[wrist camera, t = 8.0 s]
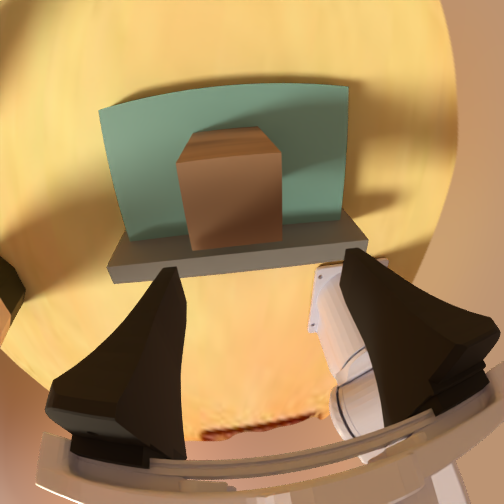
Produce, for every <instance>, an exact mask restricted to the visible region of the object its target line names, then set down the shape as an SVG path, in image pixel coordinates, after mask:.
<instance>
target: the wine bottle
mask: <svg viewBox="0 0 504 504" xmlns="http://www.w3.org/2000/svg"><path fill="white" fill-rule="evenodd" d="M25 291H26V289H25V287H24V286H23V284H22V282H21V280H20V278H19V276H18V274H17V272H16V270H15V268H14V267H13V266H11V265H10V264H9V263H8V262H6V261H5V260H4V259H3V258H2V257H0V347H1V345H2V343H3V341H4V338H5V336H6V334H7V332H8V330H9V328H10V326H11V324H12V322H13V320H14V319H15V317H16V315H17V313H18V311H19V309H20V308H21V306H22V304H23V300H24V295H25Z"/></svg>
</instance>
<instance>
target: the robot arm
mask: <svg viewBox="0 0 504 504" xmlns="http://www.w3.org/2000/svg"><path fill="white" fill-rule="evenodd" d="M388 264H389V261H388V259H387V258H380V259H375V258H373V257H372V256H370V255H369V254H367V253H366V252H365V251H363V250H361V249H360V248H349V249H346V250H345V256H344V261H343V264H335V265H328V266H320V267H318V268H317V269H316V270H315V277H314V285H313V293H312V301H311V308H310V315H309V322H308V332H309V333H314V332H317V334H318V337H319V340H320V343H321V346H322V349H323V352H324V355H325V358H326V361H327V364H328V367H329V370H330V372H331V374H332V375H333V377H334V378H335V379H336V381H337V384H338V385H337V386H335V387H334V388H333V389H332V391H331V394H330V399H329V411H330V415H331V419H332V421H333V424H334V426H335V428H336V430H337V432H338V433H339V435H340V436H341V437H342V439H343V440H344V441H342V442H338V443H334V444H330V445H326V446H321V447H317V448H312V449H308V450H303V451H297V452H292V453H286V454H280V455H272V456H264V457H255V458H245V459H232V460H198V461H197V460H186V459H187V456H186V449H185V441H184V433H183V422H182V408H181V363H182V354H183V346H184V338H185V330H186V314H187V302H186V298H185V295H184V291H183V288H182V284H181V280H180V277H179V273H178V269H177V266H175V267H165V268H162V269H161V271H160V272H159V274H158V275H157V276H156V278H155V279H154V281H153V282H152V284H151V285H150V286H149V288H148V289H147V291H146V292H145V294H144V295H143V296H142V298H141V299H140V300H139V302H138V303H137V305H136V306H135V307H134V308H133V310H132V311H131V312H130V313H129V315H128V316H127V317H126V319H125V320H124V321H123V322H122V323H121V324H120V325H119V327H118V328H117V329H116V330H115V331H114V332H113V333H112V334H111V335H110V336H109V337H108V338H107V339H106V340H105V341H104V342H103V343H102V344H100V345H99V346H98V347H97V348H96V349H95V350H94V351H93V352H92V353H91V354H89V355H88V356H87V357H86V358H84V359H83V360H82V361H81V362H79V363H78V364H77V365H75V366H74V367H73V368H71V369H70V370H68V371H67V372H65V373H64V374H62V375H61V376H59V377H58V378H56V379H54V380H53V382H52V385H51V388H50V392H49V395H48V399H47V403H46V407H45V412H46V414H47V415H48V417H49V418H50V419H52V420H53V421H54V422H55V423H57V424H58V425H60V426H61V427H62V428H64V429H65V430H67V431H68V432H70V433H71V434H72V440H69V439H67V438H64V437H61V436H57V435H54V434H51V433H47V432H43V434H42V439H41V445H40V450H39V456H38V464H37V472H36V481H35V484H36V485H37V486H39V487H41V488H43V489H45V490H48V491H50V492H52V493H54V494H57V495H59V496H61V497H64V498H67V499H69V500H71V501H74V502H76V503H79V504H471V503H470V499H469V496H468V493H467V490H466V488H465V485H464V482H463V479H462V476H461V474H460V471H459V469H458V466H457V463H456V460H457V459H458V458H460V457H461V456H463V455H464V454H465V453H467V452H468V451H469V450H471V449H472V448H473V447H475V446H476V445H477V444H478V443H480V442H481V441H482V440H483V439H484V438H486V437H487V436H488V435H489V434H490V433H492V432H493V431H494V430H495V429H496V428H497V427H498V426H499V425H500V424H501V423H502V422H504V361H502V362H501V363H500V364H498V365H497V366H495V367H494V368H492V369H491V370H489V371H488V372H487V373H486V374H485V372H484V370H483V369H484V368H485V367H486V364H485V362H484V361H483V359H484V358H485V357H486V356H487V354H488V353H489V352H490V351H491V349H492V348H493V347H494V345H495V344H496V343H497V341H498V339H499V337H500V330H499V328H498V327H497V325H496V324H495V323H494V321H493V320H492V319H491V318H490V317H487V316H483V315H479V314H476V313H472V312H469V311H467V310H464V309H461V308H458V307H456V306H453V305H451V304H449V303H446V302H444V301H442V300H440V299H438V298H436V297H434V296H432V295H430V294H428V293H426V292H425V291H423V290H421V289H419V288H418V287H416V286H414V285H413V284H411V283H410V282H408V281H406V280H405V279H403V278H402V277H400V276H399V275H397V274H396V273H394V272H393V271H392V270H390V269H389V268H387V267H388ZM319 275H321V276H319ZM357 456H358V458H360V459H361V461H362V463H364V464H366V465H363V466H360V467H357V468H354V469H350V470H347V471H344V472H340V473H336V474H332V475H329V476H325V477H320V478H316V479H312V480H307V481H303V482H298V483H292V484H288V485H281V486H276V487H269V488H261V489H253V490H244V491H236V488H235V487H233V486H228V484H227V483H226V482H212V481H197V480H200V479H201V480H215V479H216V480H217V479H239V478H252V477H261V476H270V475H277V474H284V473H290V472H296V471H301V470H306V469H311V468H316V467H320V466H324V465H328V464H332V463H336V462H340V461H343V460H347V459H350V458H353V457H357ZM187 479H195V480H187Z"/></svg>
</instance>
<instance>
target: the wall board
mask: <svg viewBox="0 0 504 504" xmlns="http://www.w3.org/2000/svg"><path fill="white" fill-rule="evenodd" d="M99 117H100V123H101V129H102V134H103V140H104V145H105V150H106V154H107V159H108V164H109V168H110V172H111V177H112V181H113V185H114V189H115V192H116V196H117V200H118V204H119V207H120V211H121V214H122V218H123V221H124V224H125V228H126V230H125V232H124V234H123V235H122V237H121V239H120V241H119V243H118V245H117V247H116V249H115V251H114V253H113V255H112V257H111V259H110V261H109V263H108V265H107V269H108V272H109V274H110V276H111V279H112V281H113V283H114V284H119V283H131V282H142V281H154V279H155V278H156V276H157V275H158V274H159V272H160V271H161V269H162V268H165V267H175V266H177V269H178V273H179V277H180V278H186V277H196V276H207V275H216V274H226V273H236V272H245V271H254V270H264V269H273V268H281V267H290V266H299V265H307V264H315V263H324V262H332V261H340V260H344V256H345V250H346V249H349V248H360V249H361V250H363V251H365V252H366V250H367V245H368V238H367V237H366V236H365V235H364V233H363V232H362V231H361V230H360V228H359V227H358V226H357V225H356V224H355V222H354V221H353V220H352V219H351V218H350V216H349V215H348V214H347V213H346V212H345V211H344V209H343V208H342V199H343V189H344V178H345V166H346V151H347V131H348V87H346V86H336V85H323V84H303V83H261V84H240V85H227V86H216V87H207V88H199V89H192V90H185V91H179V92H173V93H167V94H162V95H157V96H152V97H147V98H142V99H138V100H134V101H130V102H126V103H122V104H118V105H114V106H111V107H107V108H104V109H101V110H99ZM254 126H258V127H259V128H260V129H261V130H262V131H263V132H264V134H265V135H266V136H267V137H268V138H269V139H270V140H271V141H272V142H273V144H274V145H275V146H276V147H277V148H278V149H279V150H280V151H281V155H282V241H278V242H269V243H259V244H250V245H241V246H232V247H223V248H214V249H205V250H196V251H192V247H191V242H190V238H189V233H188V228H187V223H186V218H185V213H184V208H183V202H182V197H181V191H180V186H179V180H178V174H177V168H176V162H177V160H178V158H179V157H180V155H181V153H182V151H183V149H184V148H185V146H186V144H187V142H188V141H189V139H190V137H191V135H192V134H193V133H196V132H204V131H212V130H220V129H230V128H241V127H254Z"/></svg>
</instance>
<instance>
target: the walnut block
mask: <svg viewBox="0 0 504 504" xmlns="http://www.w3.org/2000/svg"><path fill="white" fill-rule="evenodd" d="M176 168H177V174H178V180H179V186H180V191H181V197H182V202H183V208H184V213H185V218H186V223H187V228H188V233H189V238H190V242H191V247H192V251H196V250H205V249H214V248H223V247H232V246H241V245H250V244H259V243H269V242H278V241H282V155H281V151H280V150H279V149H278V148H277V147H276V146H275V145H274V144H273V142H272V141H271V140H270V139H269V138H268V137H267V136H266V135H265V134H264V132H263V131H262V130H261V129H260V128H259V127H258V126H254V127H241V128H230V129H220V130H212V131H204V132H196V133H193V134H192V135H191V137H190V139H189V141H188V142H187V144H186V146H185V148H184V149H183V151H182V153H181V155H180V157H179V158H178V160H177V162H176Z"/></svg>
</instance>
